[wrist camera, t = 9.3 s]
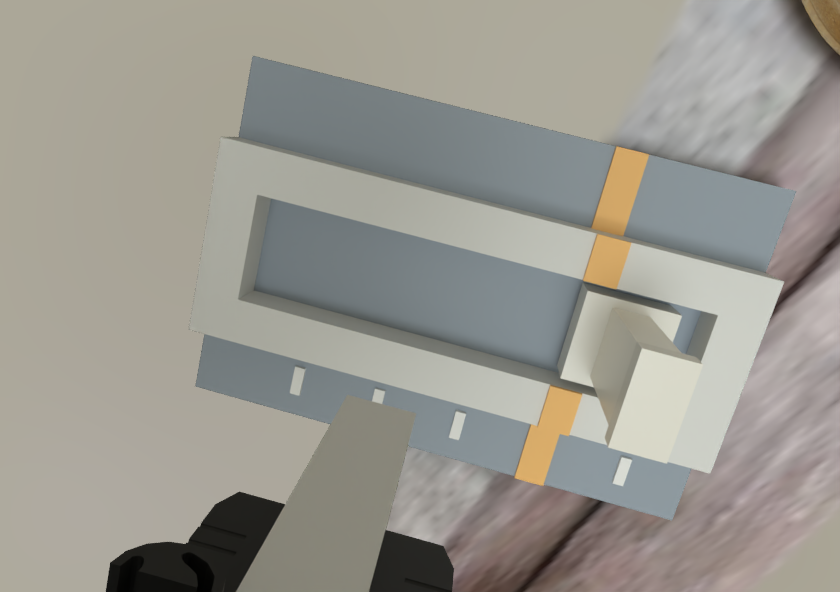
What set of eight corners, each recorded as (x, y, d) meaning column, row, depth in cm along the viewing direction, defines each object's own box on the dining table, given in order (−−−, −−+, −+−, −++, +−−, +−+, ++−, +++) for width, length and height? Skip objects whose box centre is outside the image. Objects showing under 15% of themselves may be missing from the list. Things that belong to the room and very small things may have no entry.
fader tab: (642, 388, 31) (694, 477, 22) (557, 365, 31) (576, 444, 23) (671, 305, 30) (736, 367, 22) (582, 282, 30) (613, 334, 22)
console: (662, 499, 34) (684, 547, 30) (212, 373, 36) (174, 402, 31) (777, 188, 30) (820, 194, 26) (268, 61, 32) (233, 48, 28)
